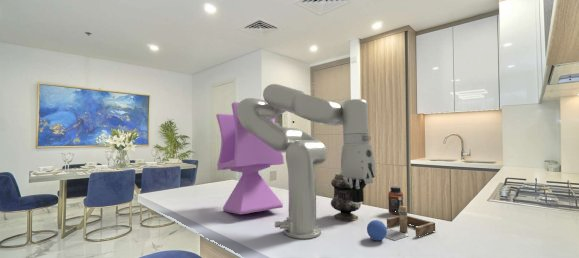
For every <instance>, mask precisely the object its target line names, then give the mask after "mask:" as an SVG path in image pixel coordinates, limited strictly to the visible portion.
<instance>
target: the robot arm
mask: <svg viewBox="0 0 579 258" xmlns="http://www.w3.org/2000/svg"><path fill="white" fill-rule="evenodd" d="M262 97H263V99H260V98H254V97H248V98H244V99H242V100H241V101H240V102H238V103H239V104H238V107H237V114H238V118H239V121H240V123H241V125H242V126H243V127H244V128H245V129H246V130H247V131H248V132H249V133H251V134H252V135H254V136H255V137H257V138H258V139H260V140H261V141H262V142H264V143H265V144H267V145H268V146H269V147H271V148H272V149H274V150H275V151H277V152H281V153H285V160H286V161H285V162H286V166H287V174H288V175H287V177H288V217H286V218H285V219H286V220H285V219H284V220H283V221H275V222H274V228H279V230H283V233H284V234H285V236H287V237H289V238H294V239H301V240H302V239H303V240H304V239H313V238H317V237H319V236H320V235H321V234H322V229H321V228H320V227H319V226H318V225H317V178H316V173H315V170H314V167H317V166H320V165H322V164H323V163H325V161H326V160H327V158H328V149H327V147H326V145H325V144H324V143H323V142H322V141H321V140H319V139H317V138H315V137H314V136H312V135H310V134H308V133H307V132H305V131H303V130H301V129H298V128H295V127H287V126H285V127H284V126H281V125H278V124H277V123H276V122H275V123H273V122H272V121H270V120H272V119H274V118H275V119H276V118H277V117H279V116H281V115H283V114H284V113H286V112H287V113H288V112H289V113H291V114H294V115H295V116H297V117H300V118H302V119H304V120H307V121H310V122H313V123H316V124H320V125H324V126H325V125H327V126H335V127H336V126H339V127H340V126H342V139H343V141H342V142H343V144H342V147H341V155H340V170H341V172H340V173H342V175H343V179H344V180H345V181H348V183H349V184H350V188H352V202H356V203H359V202H360V203H363V202H364V189H365V188H366V185H368V184H369V185H370V184H373V182H374V181H373V179H374V178H375V177H376V162H375V154H374V150H373V147H372V144H370V142H369V141H371V138H372V137H371V136H370V134H369V114H368V113H369V112H368V110H369V108H368V102H367V101H366V100H365V99H361V98H357V99H355V98H353V99H352V98H351V99H347V100H344V102H343V103H339V102H335V101H331V100H327V99H324V98H319V97H317V96H313V95H309V94H307V93H305V92H304V91H302V90H298V89H296V88H291V87H290V86H289V87H288V86H284V85H281V84H277V83H272V84H271V83H270V84H268V85H267V86H266V87H265V88H264V89H263V93H262Z"/></svg>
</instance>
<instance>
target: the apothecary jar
mask: <svg viewBox="0 0 579 258" xmlns="http://www.w3.org/2000/svg"><path fill="white" fill-rule="evenodd" d="M330 183H331V186H332V187H333V198H332V199H331V201H330V205H331V207H332V208H333V209H334V210H336V211H338V212H337V213H336V214H334V215H333V219H335V220H338V221H343V222H353V221H357V220H358V219H359V217H358V215H355V214H354V213H353V212H355V211H358V210H359V209H360V208H361V206H362V204H361V203H362V202H359V203H356V202H352V188H350V184H349V183H348V181H345V180H344V179H343V175H342V173H341V172H336V173H335V174H334V178H333V179H331V182H330Z"/></svg>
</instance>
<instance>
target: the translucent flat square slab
mask: <svg viewBox="0 0 579 258" xmlns="http://www.w3.org/2000/svg"><path fill="white" fill-rule="evenodd" d="M405 234H406V233H403V232H400V231H398V230H395V229H392V228H389V229H387V234H386V236H385V239H388V238H389V239H388V240H392V241H398V240H401V239H404V238H406V237H405V236H406V235H405ZM403 237H404V238H403Z"/></svg>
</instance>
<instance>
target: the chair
mask: <svg viewBox="0 0 579 258" xmlns="http://www.w3.org/2000/svg"><path fill="white" fill-rule="evenodd" d="M239 103H240V102H235V101H233V102H232V103H231V110H232V114H227V113H225V114H224V113H217V114H216V119H217V124H218V127H219V131H220V138H221V140H220V141H221V144H220V152H219V156H218V160H217V171H222V170H223V171H227V170H230V171H231V172H236V173H242V175H241V176H240V178H239V180H238V182H237V183H236V185H235V187H234V188H233V190H232V191H231V193H230V194H229V196H228V199H227V200H226V202H225V203H224V205H223V206H222V211H223V212H224V213H225V212H227V213H230V214H236V215H246V214H251V213H255V212H256V213H257V212H262V211H269V210H276V209H280V208H283V206H284V204H283V202H282V200H281V199H280V198H279V197H278V195H276V193H275V192H274V191H273V190H272V188H271V187H270V186H269V185H268V183H267V182H266V181H265V180H264V179H263V177H262V175H260V173H259V171H262V170H265V169H267V168H271V166H277V165H280V166H281V165H284V164H285V163H284V162H285V161H284V155H283V152H277V151H275V150H274V149H272V148H271V147H269V146H268V145H267V144H265V143H264V142H262V141H261V140H260V139H258V138H257V137H255V136H254V135H252V134H251V133H249V132H248V131H247V130H246V129H245V128H244V127H243V126H242V125H241V123H240V121H239V118H238V114H237V107H238V104H239ZM275 119H276V118H274V119H272V120H270V121H272V122H273V123H275V124H276V122H275V121H276V120H275Z"/></svg>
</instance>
